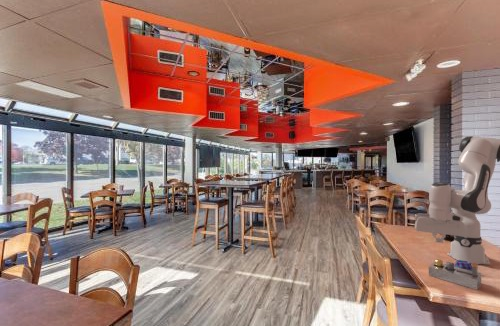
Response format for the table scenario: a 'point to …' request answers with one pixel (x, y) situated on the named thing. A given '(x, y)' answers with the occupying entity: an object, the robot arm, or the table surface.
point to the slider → (474, 269)
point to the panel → (456, 276)
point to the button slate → (450, 266)
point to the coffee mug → (449, 237)
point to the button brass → (438, 263)
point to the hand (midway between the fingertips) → (438, 242)
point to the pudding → (463, 265)
